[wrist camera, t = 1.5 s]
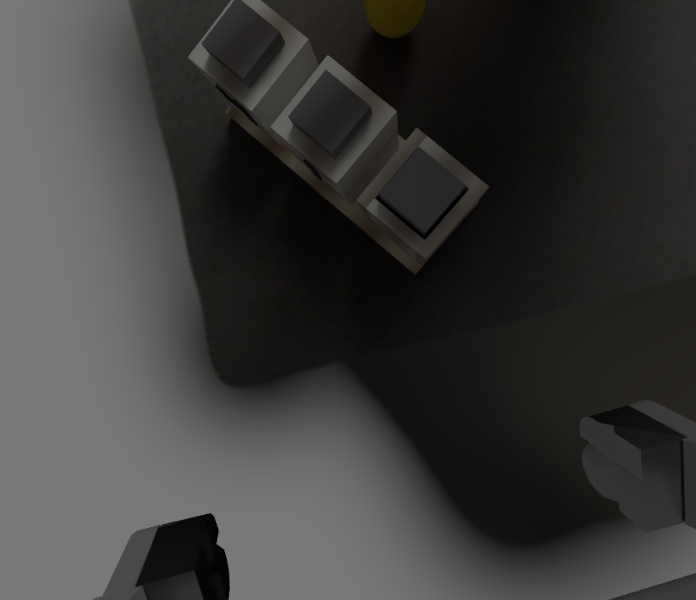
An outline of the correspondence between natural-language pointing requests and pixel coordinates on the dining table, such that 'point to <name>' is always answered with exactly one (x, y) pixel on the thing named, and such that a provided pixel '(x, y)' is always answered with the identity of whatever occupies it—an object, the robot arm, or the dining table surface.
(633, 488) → the robot arm
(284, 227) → the dining table surface
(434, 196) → the plain button
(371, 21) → the lemon
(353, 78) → the button panel
